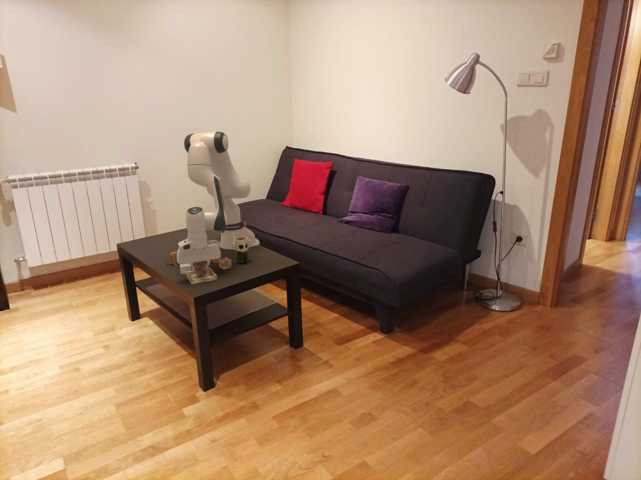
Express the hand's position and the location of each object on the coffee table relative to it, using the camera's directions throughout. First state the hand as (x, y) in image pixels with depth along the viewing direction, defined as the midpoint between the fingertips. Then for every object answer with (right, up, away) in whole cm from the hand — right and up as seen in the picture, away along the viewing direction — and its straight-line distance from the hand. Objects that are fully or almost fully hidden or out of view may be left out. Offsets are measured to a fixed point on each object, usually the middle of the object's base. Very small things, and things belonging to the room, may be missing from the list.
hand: (200, 269), depth 231 cm
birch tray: (0, -4, +1) cm, 4 cm away
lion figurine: (-15, +2, +20) cm, 25 cm away
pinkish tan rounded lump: (+3, +3, +22) cm, 22 cm away
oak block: (+9, 0, +14) cm, 17 cm away
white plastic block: (-9, -2, +9) cm, 13 cm away
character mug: (+17, +3, +21) cm, 27 cm away
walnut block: (0, -2, +1) cm, 2 cm away
